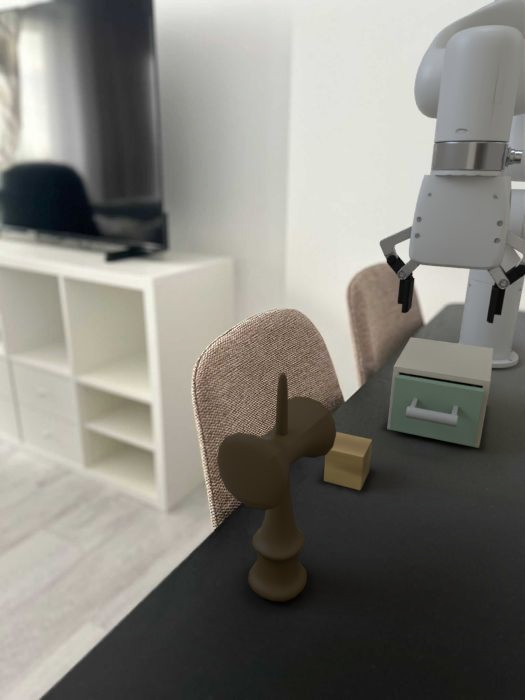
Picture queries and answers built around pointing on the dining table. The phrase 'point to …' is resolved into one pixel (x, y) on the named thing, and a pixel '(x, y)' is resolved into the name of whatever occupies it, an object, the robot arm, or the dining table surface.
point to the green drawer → (436, 408)
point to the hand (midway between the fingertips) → (446, 315)
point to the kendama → (276, 487)
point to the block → (348, 461)
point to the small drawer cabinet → (447, 367)
